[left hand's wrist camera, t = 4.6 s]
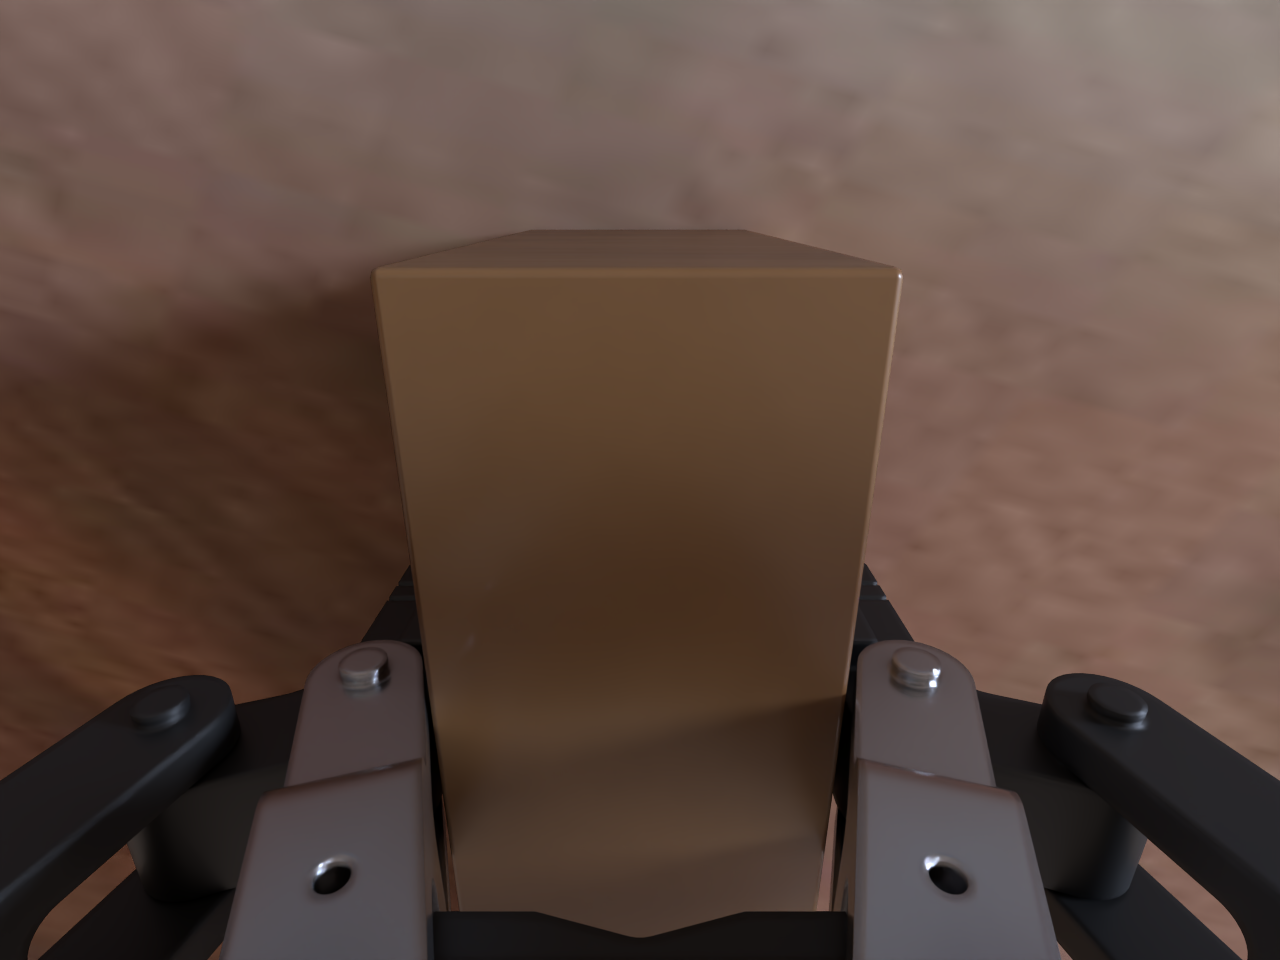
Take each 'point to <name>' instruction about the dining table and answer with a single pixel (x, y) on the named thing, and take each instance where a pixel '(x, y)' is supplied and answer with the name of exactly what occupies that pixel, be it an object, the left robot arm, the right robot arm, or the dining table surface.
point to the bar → (637, 556)
